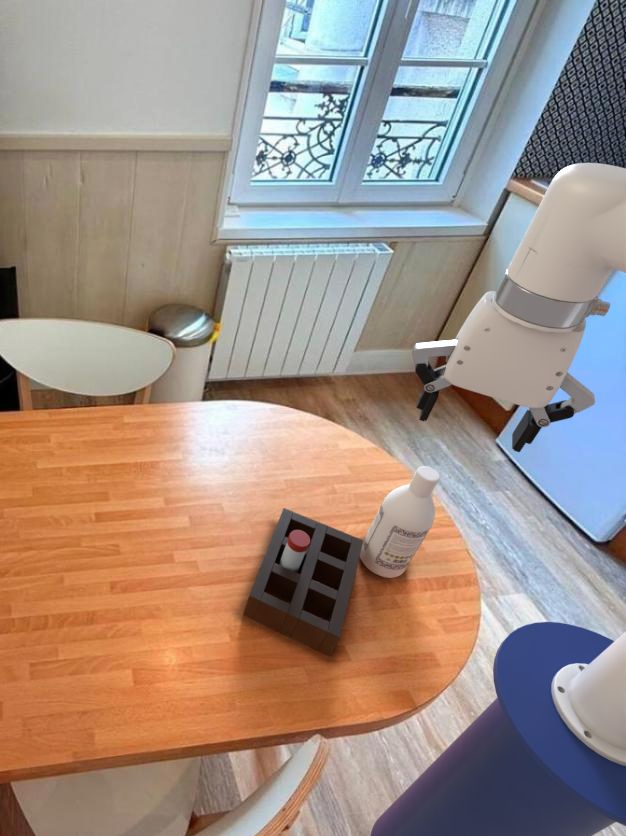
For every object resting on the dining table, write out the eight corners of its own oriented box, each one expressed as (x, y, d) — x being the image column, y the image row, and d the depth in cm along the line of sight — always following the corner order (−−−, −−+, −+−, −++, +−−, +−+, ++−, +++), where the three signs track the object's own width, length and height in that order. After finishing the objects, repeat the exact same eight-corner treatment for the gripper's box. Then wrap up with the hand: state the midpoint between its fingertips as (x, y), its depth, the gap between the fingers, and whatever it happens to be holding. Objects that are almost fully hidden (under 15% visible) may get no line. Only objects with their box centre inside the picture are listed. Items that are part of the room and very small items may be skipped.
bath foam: (414, 572, 94) (468, 485, 82) (378, 584, 92) (427, 498, 80) (384, 537, 99) (430, 450, 87) (349, 548, 97) (391, 461, 85)
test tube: (295, 575, 93) (312, 535, 87) (290, 590, 91) (307, 549, 85) (277, 567, 94) (292, 526, 88) (272, 581, 92) (287, 541, 86)
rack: (354, 559, 96) (363, 540, 92) (329, 656, 83) (339, 637, 80) (276, 527, 100) (283, 507, 97) (242, 614, 87) (249, 595, 84)
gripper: (641, 306, 58) (553, 435, 69) (447, 260, 64) (393, 386, 75) (654, 345, 53) (556, 478, 64) (441, 291, 59) (384, 421, 70)
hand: (468, 428), depth 69 cm, fingers open, 9 cm apart
